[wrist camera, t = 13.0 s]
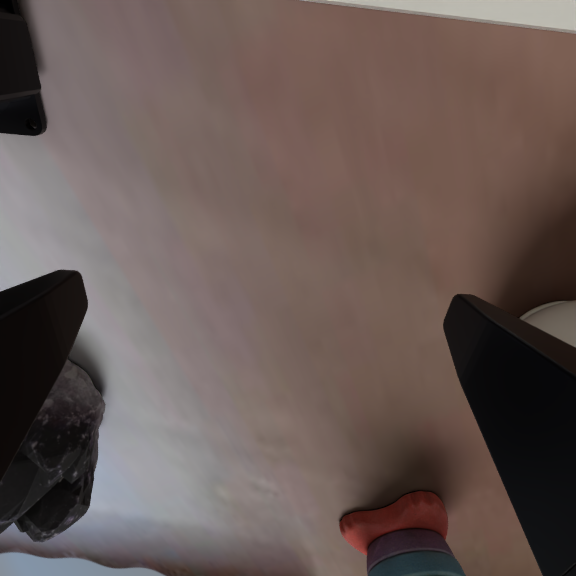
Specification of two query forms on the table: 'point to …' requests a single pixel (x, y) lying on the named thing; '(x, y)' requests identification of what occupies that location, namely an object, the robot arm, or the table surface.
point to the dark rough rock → (55, 460)
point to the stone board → (482, 11)
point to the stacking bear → (404, 537)
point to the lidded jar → (555, 319)
